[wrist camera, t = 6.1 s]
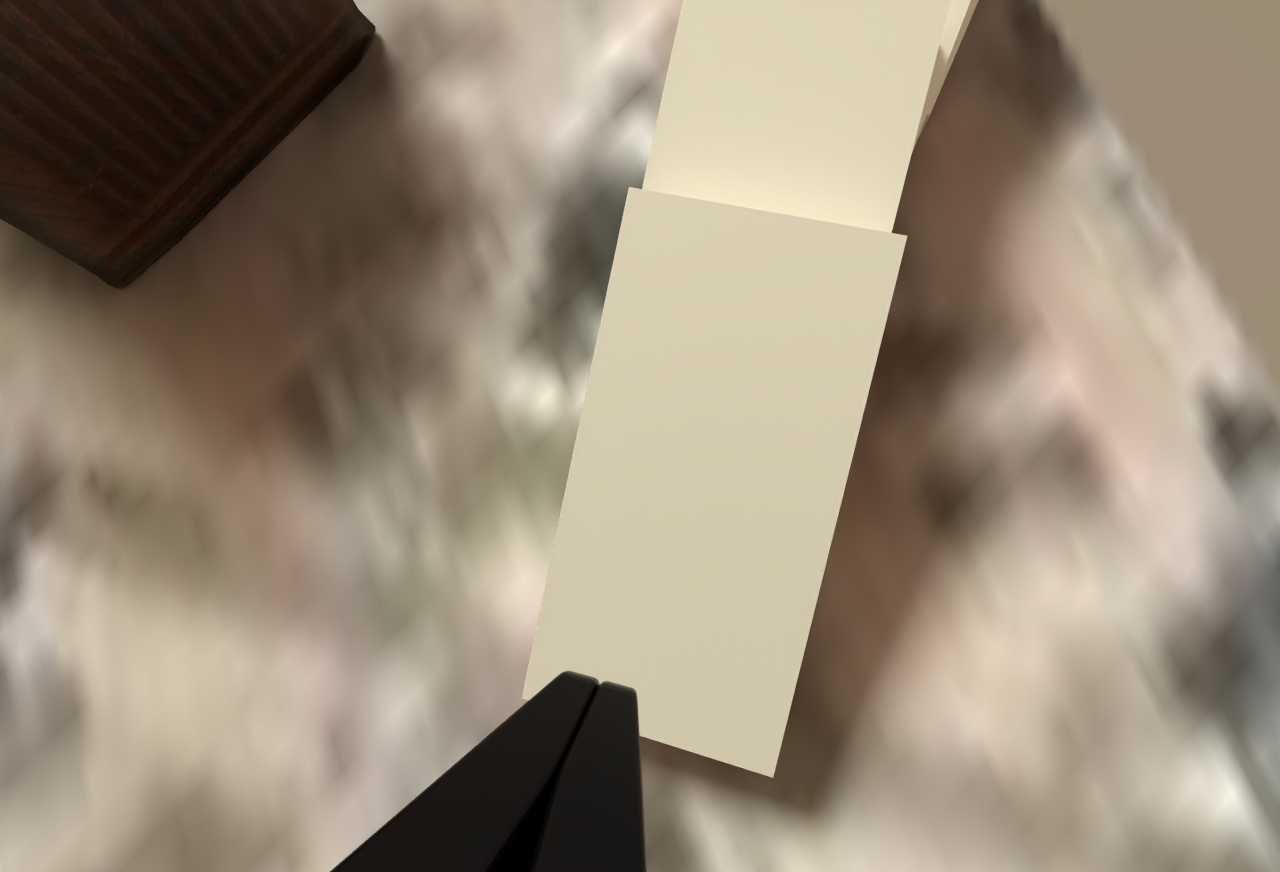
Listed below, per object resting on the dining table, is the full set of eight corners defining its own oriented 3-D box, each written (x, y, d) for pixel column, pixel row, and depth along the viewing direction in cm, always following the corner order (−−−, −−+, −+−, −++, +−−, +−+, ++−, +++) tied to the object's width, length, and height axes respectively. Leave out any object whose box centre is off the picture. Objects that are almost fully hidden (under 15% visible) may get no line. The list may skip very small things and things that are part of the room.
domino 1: (819, 516, 15) (951, -1, 14) (583, 456, 16) (690, -33, 15) (817, 504, 17) (935, 38, 16) (603, 450, 18) (700, 6, 17)
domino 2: (773, 778, 14) (907, 235, 13) (521, 698, 15) (629, 186, 14) (775, 739, 16) (895, 252, 15) (547, 669, 16) (646, 207, 15)
